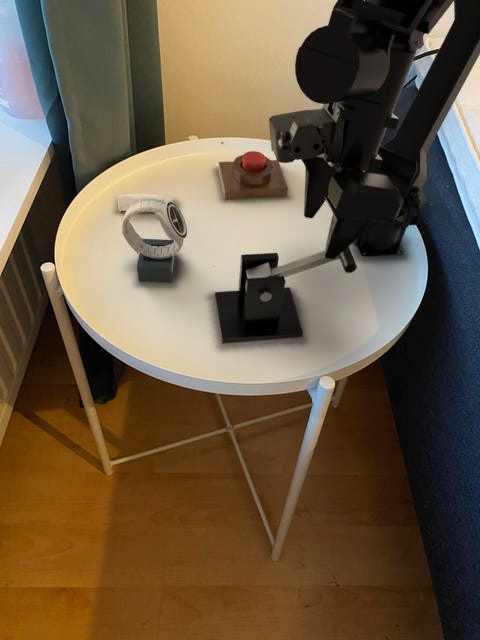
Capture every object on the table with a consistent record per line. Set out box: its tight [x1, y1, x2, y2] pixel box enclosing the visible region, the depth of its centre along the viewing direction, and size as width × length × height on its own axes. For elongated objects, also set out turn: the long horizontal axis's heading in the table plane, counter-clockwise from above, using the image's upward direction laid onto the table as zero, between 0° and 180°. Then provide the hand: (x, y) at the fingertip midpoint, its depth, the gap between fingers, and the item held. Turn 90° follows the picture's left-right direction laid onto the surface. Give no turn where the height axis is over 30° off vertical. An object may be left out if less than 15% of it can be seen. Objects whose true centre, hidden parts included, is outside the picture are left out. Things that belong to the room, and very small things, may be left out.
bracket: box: [214, 252, 304, 344], centre depth 67 cm, size 10×8×9 cm
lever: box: [246, 246, 358, 279], centre depth 64 cm, size 12×6×2 cm, turn 98°
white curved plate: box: [117, 193, 173, 213], centre depth 83 cm, size 4×8×3 cm, turn 90°
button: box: [242, 150, 266, 173], centre depth 86 cm, size 4×4×2 cm
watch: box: [121, 198, 188, 284], centre depth 71 cm, size 6×8×11 cm
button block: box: [218, 154, 289, 200], centre depth 88 cm, size 10×8×4 cm
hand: (317, 236), depth 62 cm, fingers open, 9 cm apart
